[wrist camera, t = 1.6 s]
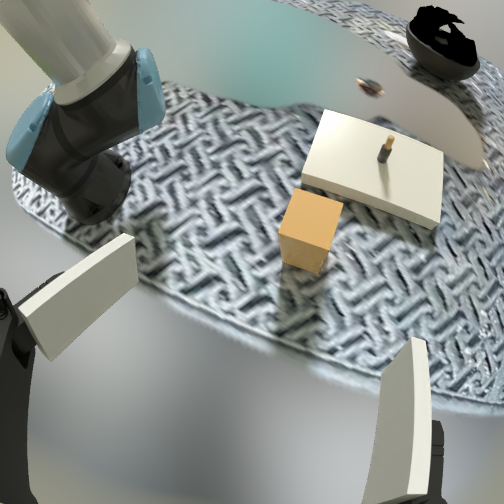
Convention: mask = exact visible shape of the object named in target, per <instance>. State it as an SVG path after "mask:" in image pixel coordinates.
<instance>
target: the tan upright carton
mask: <svg viewBox="0 0 504 504" xmlns="http://www.w3.org/2000/svg"><path fill="white" fill-rule="evenodd" d="M342 207H343V203H341V202H338V201H335V200H332V199H329V198H326V197H323V196H320V195H317V194H313V193H310V192H307V191H304V190H301V189H297V188H295V190H294V192H293V195H292V197H291V200H290V203H289V205H288V208H287V211H286V213H285V216H284V218H283V221H282V224H281V226H280V229H279V231H278V236H279V243H280V250H281V256H282V262H284V263H287V264H290V265H293V266H296V267H298V268H301V269H304V270H307V271H310V272H313V273H315V274H318V273H319V271H320V269H321V267H322V265H323V263H324V260H325V258H326V256H327V254H328V252H329V249H330V246H331V243H332V240H333V237H334V234H335V230H336V227H337V224H338V221H339V217H340V214H341V210H342Z"/></svg>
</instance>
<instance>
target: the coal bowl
mask: <svg viewBox="0 0 504 504" xmlns="http://www.w3.org/2000/svg"><path fill="white" fill-rule="evenodd" d="M452 22H456V23H463V24H464V22H462V21H461V20H459V19H458V18H457V16H456V15H454V14H450V13H449V12H448V11H447V10H444V9H442V8H440V7H436V8H434V7H433V6H432V5H431V6H426V7H420V8H419V9H418V12H417V15H416V16H415V17H414V19H413V20H412V21H411V22H410V23H408V24H407V26H406V38H407V42H408V45H409V48H410V50H411V52H412V54H413V55H414V57H415V58H416V60H417V61H418V62H419V63H420V64H421V65H422V66H423V67H424V68H425V69H426V70H428V71H429V72H431V73H432V74H434V75H436V76H438V77H440V78H443V79H446V80H452V81H460V80H465V79H468V78H470V77H471V76H473V75H474V74H475V73H476V72H477V71H478V70H479V68H480V62H479V59H478V58H477V52H476V46H475V42H474V40H470V39H468V38H466V37H465V36H464V35H463V33H462V32H460V31H459V30H458V29H457V27H456V26H455V25H454V24H453V23H452ZM447 24H448V26H449V28H450V29H451V33H448V32H446V31H444V30H442V29H440V27H441V26H443V25H447Z"/></svg>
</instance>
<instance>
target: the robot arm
mask: <svg viewBox="0 0 504 504" xmlns="http://www.w3.org/2000/svg"><path fill="white" fill-rule="evenodd" d="M0 24H1V25H2V26H3V27H4V28H5V29H6V30H7V32H8V33H9V34H10V35H11V36H12V37H13V38H14V39H15V41H16V42H17V43H18V44H19V45H20V46H21V47H22V48H23V49H24V51H25V52H26V53H27V54H28V55H29V56H30V57H31V58H32V59H33V60H34V62H36V64H37V65H38V66H39V67H40V68H41V69H42V70H43V71H44V72H45V73H46V75H47V76H48V77H49V78H50V79H51V80H52V81H53V82H54V83H55V84H56V86H55V92H54V98H53V95H52V94H49V93H44V94H41V95H40V96H39V97H37V98H36V99H35V100H34V101H33V102H32V103H31V105H30V106H29V107H28V108H27V109H26V111H25V112H24V113H23V115H22V116H21V118H20V119H19V121H18V122H17V124H16V126H15V128H14V130H13V131H12V134H11V136H10V138H9V141H8V144H7V147H6V159H7V161H8V162H9V163H10V164H11V165H12V166H13V167H14V168H16V169H17V170H18V172H19V173H21V174H23V175H24V176H26V177H27V178H29V179H30V180H32V181H33V182H35V183H36V184H38V185H39V186H41V187H42V188H44V189H46V190H47V191H49V192H50V193H52V194H54V195H55V196H57V197H58V198H59V199H60V201H61V202H62V204H63V205H64V207H65V208H66V210H67V211H68V213H69V214H70V215H71V216H72V217H73V218H74V219H75V220H77V221H79V222H80V223H82V224H85V225H94V224H97V223H100V222H102V221H103V220H105V219H106V218H108V217H109V216H110V215H111V214H112V213H113V212H114V211H115V210H116V209H117V208H118V207H119V205H120V204H121V203H122V201H123V199H124V198H125V196H126V194H127V191H128V188H129V185H130V180H131V170H130V166H129V164H128V163H127V161H126V160H125V159H124V158H123V157H122V156H121V155H120V154H118V153H117V152H115V151H112V150H110V149H109V148H111V147H113V146H115V145H117V144H119V143H121V142H123V141H126V140H128V139H130V138H132V137H134V136H137V135H139V134H142V133H143V132H144V131H146V130H148V129H150V128H152V127H154V126H156V125H158V124H159V123H161V122H162V120H163V119H164V117H165V111H166V108H165V100H164V94H163V89H162V85H161V81H160V76H159V73H158V69H157V66H156V63H155V60H154V57H153V55H152V53H151V51H150V50H149V49H148V48H143V49H138V50H137V51H136V52H135V51H134V49H133V47H132V46H131V44H130V43H129V41H127V40H125V39H113V38H111V36H110V35H109V33H108V31H107V30H106V28H105V27H104V25H103V23H102V22H101V20H100V19H99V18H98V15H97V14H96V12H95V11H94V9H93V7H92V6H91V5H90V3H89V1H88V0H0ZM138 282H139V278H138V269H137V259H136V247H135V237H133V236H130V235H128V234H125V233H123V234H121V235H120V236H118V237H116V238H115V239H113V240H112V241H110V242H109V243H107V244H106V245H104V246H102V247H101V248H99V249H98V250H96V251H95V252H93V253H92V254H90V255H89V256H87V257H86V258H84V259H83V260H81V261H80V262H79V263H77V264H76V265H74V266H73V267H71V268H70V269H69V270H67V271H66V272H61V273H59V274H56V275H54V276H52V277H51V278H50V279H48V280H47V281H46V282H45V283H43V284H41V285H40V286H39V288H38V287H37V288H36V289H35V290H33V291H32V292H31V293H29V294H28V295H27V296H26V297H24V298H23V299H22V300H20V301H19V302H18V303H17V304H15V305H12V303H11V301H10V299H9V297H8V294H7V292H6V291H5V290H4V289H3V288H0V503H3V504H38V502H37V500H36V498H35V497H34V496H33V494H32V493H31V491H30V486H29V475H28V460H27V421H28V406H29V395H30V385H31V378H32V371H33V364H34V358H35V345H38V347H39V349H40V350H41V352H42V353H43V354H44V355H45V356H46V357H47V358H48V359H49V360H50V361H51V362H52V361H53V360H54V359H55V358H56V357H57V356H58V355H59V354H60V353H61V352H62V351H63V350H64V349H65V348H66V347H67V346H68V345H69V344H70V343H71V342H73V340H75V339H76V338H77V337H78V336H79V335H80V334H81V333H82V332H83V331H84V330H85V329H86V328H87V327H88V326H90V325H91V324H92V323H93V322H94V321H95V320H96V319H97V318H98V317H100V316H101V315H102V314H103V313H104V312H105V311H106V310H107V309H108V308H110V306H112V305H113V304H114V303H115V302H116V301H117V300H119V299H120V298H121V297H122V296H123V295H124V294H125V293H127V292H128V291H129V290H130V289H131V288H132V287H133V286H135V285H136V284H137V283H138ZM431 418H432V417H431V391H430V377H429V366H428V357H427V349H426V342H425V341H424V340H421V339H418V338H414V337H410V339H409V340H408V341H407V343H406V344H405V345H404V347H403V348H402V349H401V351H400V352H399V353H398V355H397V356H396V357H395V358H394V360H393V361H392V362H391V363H390V365H389V366H388V367H387V368H386V370H385V371H384V372H383V373H382V374H381V386H380V399H379V409H378V418H377V427H376V434H375V440H374V447H373V453H372V458H371V464H370V469H369V474H368V478H367V483H366V487H365V492H364V496H363V500H362V503H361V504H447V502H446V501H445V500H444V499H443V498H442V496H441V488H442V487H441V486H442V477H443V461H444V460H443V459H444V458H443V455H444V448H443V446H444V431H443V428H442V426H441V423H440V421H436V420H432V419H431Z"/></svg>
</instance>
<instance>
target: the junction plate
mask: <svg viewBox="0 0 504 504" xmlns="http://www.w3.org/2000/svg"><path fill="white" fill-rule="evenodd" d="M301 183H304V184H307V185H310V186H313V187H316V188H320V189H323V190H326V191H329V192H332V193H335V194H338V195H341V196H344V197H347V198H350V199H353V200H356V201H358V202H361V203H364V204H367V205H370V206H372V207H375V208H378V209H380V210H383V211H386V212H388V213H391V214H393V215H396V216H398V217H401V218H403V219H406V220H408V221H411V222H413V223H416V224H418V225H421V226H423V227H425V228H428V229H430V230H432V229H433V228H434V227H435V226H437V225H438V224H439V223H440V214H441V202H442V186H443V152H441V151H439V150H437V149H435V148H432V147H430V146H428V145H426V144H423V143H421V142H419V141H417V140H414V139H412V138H409V137H407V136H404V135H402V134H399V133H397V132H394V131H392V130H389V129H386V128H383V127H381V126H378V125H375V124H372V123H369V122H366V121H363V120H360V119H357V118H353V117H350V116H347V115H343V114H340V113H336V112H333V111H329V110H324V113H323V116H322V119H321V122H320V124H319V127H318V130H317V133H316V135H315V138H314V141H313V144H312V146H311V149H310V152H309V154H308V157H307V160H306V163H305V165H304V168H303V171H302V181H301Z"/></svg>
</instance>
